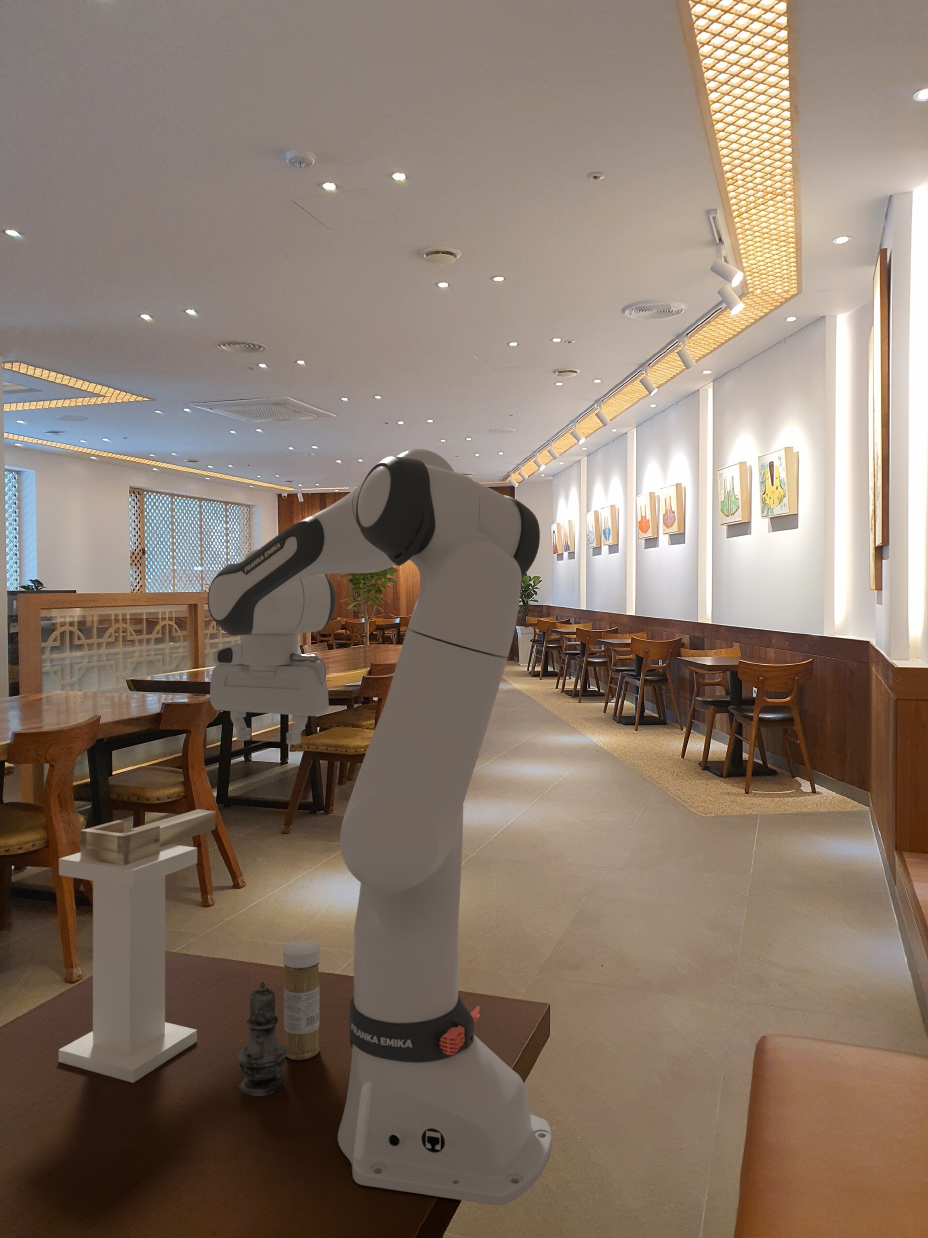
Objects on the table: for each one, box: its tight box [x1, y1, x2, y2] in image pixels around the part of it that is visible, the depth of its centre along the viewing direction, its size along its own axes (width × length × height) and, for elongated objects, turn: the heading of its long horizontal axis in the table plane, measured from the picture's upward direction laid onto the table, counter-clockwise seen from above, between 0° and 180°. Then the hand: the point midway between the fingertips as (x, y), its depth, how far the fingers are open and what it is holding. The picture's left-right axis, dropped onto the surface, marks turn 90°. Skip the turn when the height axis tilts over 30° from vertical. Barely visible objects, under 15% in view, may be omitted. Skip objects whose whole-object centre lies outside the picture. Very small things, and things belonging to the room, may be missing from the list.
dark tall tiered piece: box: [236, 981, 288, 1097], centre depth 103 cm, size 6×6×12 cm
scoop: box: [79, 808, 216, 866], centre depth 115 cm, size 7×19×4 cm, turn 156°
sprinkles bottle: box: [282, 940, 321, 1061], centre depth 110 cm, size 5×5×14 cm
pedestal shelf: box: [58, 843, 198, 1084], centre depth 110 cm, size 12×11×25 cm
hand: (268, 742), depth 136 cm, fingers open, 8 cm apart
